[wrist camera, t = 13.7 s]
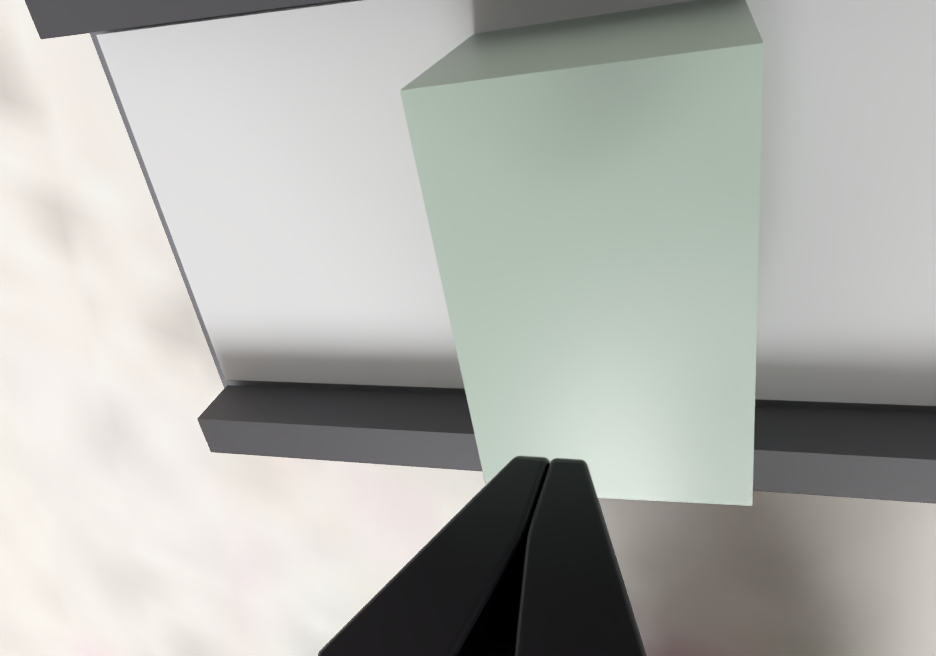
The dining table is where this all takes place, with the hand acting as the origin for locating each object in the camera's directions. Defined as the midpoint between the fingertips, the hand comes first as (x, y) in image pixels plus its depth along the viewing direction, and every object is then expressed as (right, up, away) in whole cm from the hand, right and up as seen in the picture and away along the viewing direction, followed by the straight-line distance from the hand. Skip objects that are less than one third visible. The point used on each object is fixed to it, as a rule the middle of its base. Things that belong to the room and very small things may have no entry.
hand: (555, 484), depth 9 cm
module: (+2, +4, +7) cm, 9 cm away
